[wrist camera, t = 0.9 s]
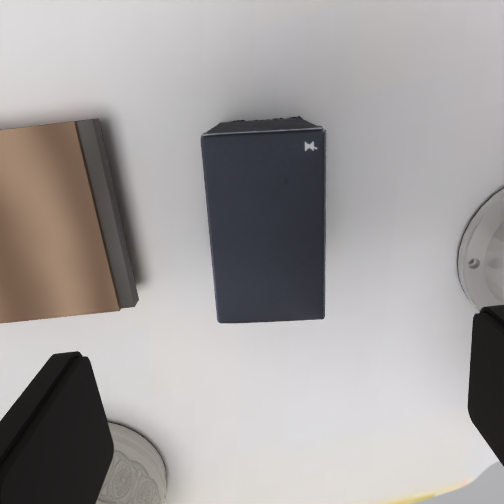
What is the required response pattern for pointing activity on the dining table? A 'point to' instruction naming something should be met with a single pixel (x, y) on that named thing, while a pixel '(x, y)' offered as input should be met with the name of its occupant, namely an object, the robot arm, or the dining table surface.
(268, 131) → the small box
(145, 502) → the jar
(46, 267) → the dock
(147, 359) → the dining table surface
